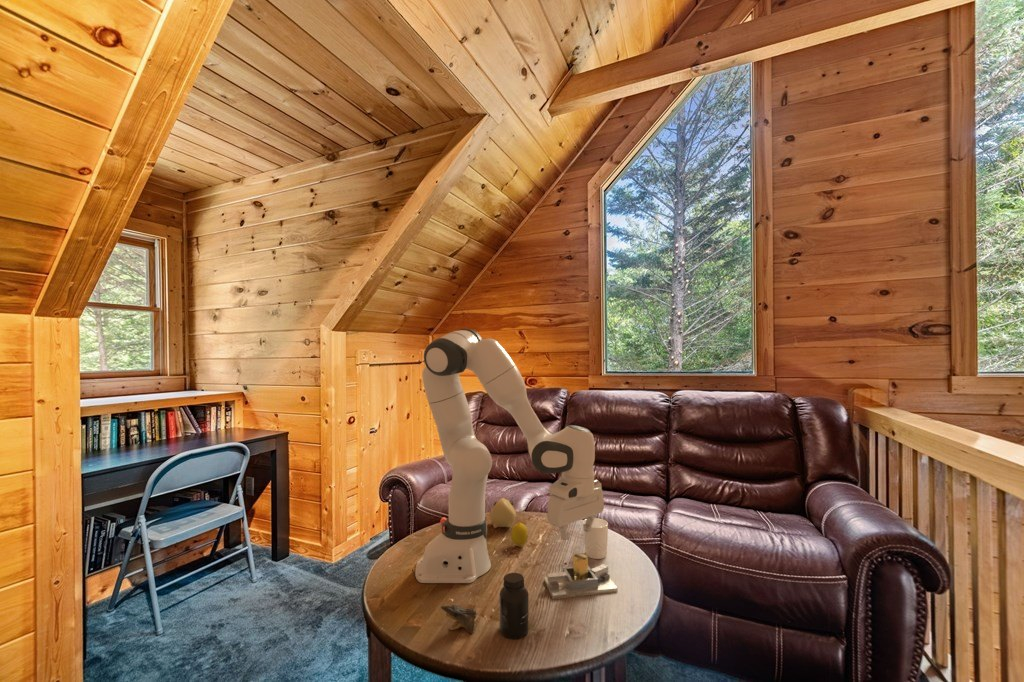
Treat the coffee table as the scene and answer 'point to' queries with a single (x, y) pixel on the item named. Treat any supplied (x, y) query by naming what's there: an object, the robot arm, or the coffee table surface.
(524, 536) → the lemon
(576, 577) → the cylinder
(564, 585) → the shaft rig
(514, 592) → the supplement bottle
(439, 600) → the coffee table surface
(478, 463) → the robot arm
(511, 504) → the pale yellow wedge piece
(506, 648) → the coffee table surface
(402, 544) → the coffee table surface
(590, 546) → the white cup
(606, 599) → the coffee table surface
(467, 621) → the shark head
